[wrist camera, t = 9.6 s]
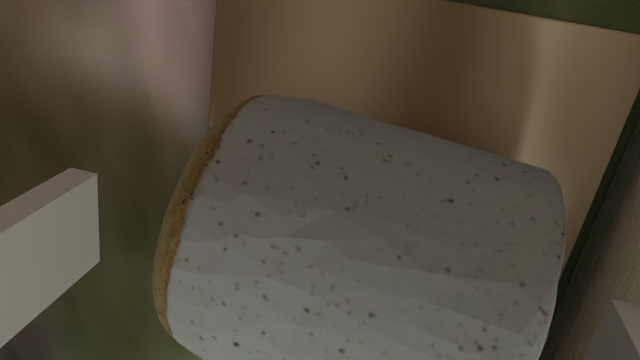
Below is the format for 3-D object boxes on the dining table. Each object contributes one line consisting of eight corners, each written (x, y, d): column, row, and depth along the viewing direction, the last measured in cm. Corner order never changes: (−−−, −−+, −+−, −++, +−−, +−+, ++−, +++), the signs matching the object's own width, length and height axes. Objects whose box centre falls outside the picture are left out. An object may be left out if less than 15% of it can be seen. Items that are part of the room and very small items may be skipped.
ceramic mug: (273, 55, 16) (126, 136, 9) (546, 130, 15) (618, 289, 8) (227, 320, 20) (109, 506, 14) (431, 392, 19) (414, 633, 12)
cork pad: (203, 306, 21) (196, 315, 21) (227, -39, 16) (219, -39, 15) (505, 394, 19) (506, 406, 19) (651, 36, 14) (659, 39, 13)
